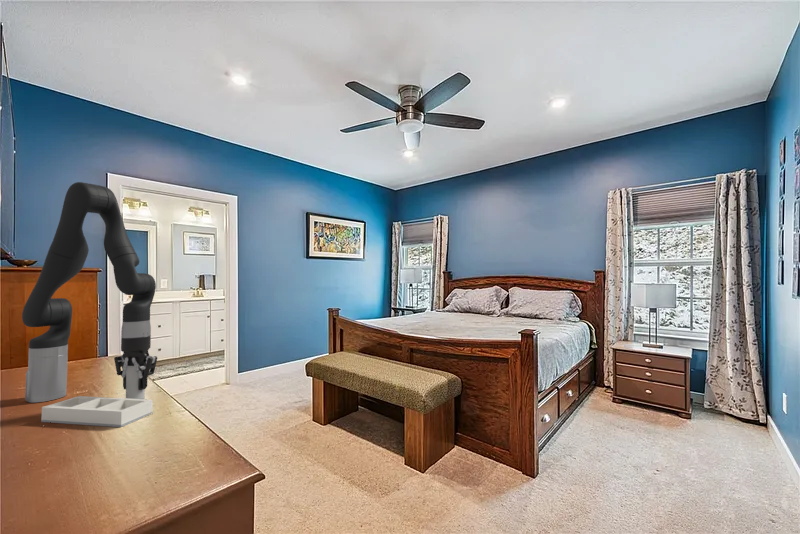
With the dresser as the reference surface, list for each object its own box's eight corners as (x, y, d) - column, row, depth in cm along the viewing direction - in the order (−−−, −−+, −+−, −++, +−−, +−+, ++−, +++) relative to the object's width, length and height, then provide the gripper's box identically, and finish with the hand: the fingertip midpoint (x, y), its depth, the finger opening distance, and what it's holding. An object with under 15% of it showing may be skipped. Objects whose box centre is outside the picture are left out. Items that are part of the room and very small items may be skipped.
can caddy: (41, 421, 94) (41, 407, 95) (78, 409, 104) (78, 396, 104) (121, 427, 90) (121, 411, 90) (152, 413, 99) (152, 399, 100)
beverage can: (148, 400, 111) (149, 362, 112) (135, 405, 106) (136, 366, 107) (134, 400, 112) (135, 362, 112) (121, 405, 107) (122, 366, 107)
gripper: (105, 336, 107) (104, 391, 107) (145, 337, 105) (144, 393, 104) (128, 333, 115) (127, 384, 114) (165, 333, 112) (164, 386, 112)
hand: (135, 388), depth 109 cm, fingers closed on beverage can, 5 cm apart
